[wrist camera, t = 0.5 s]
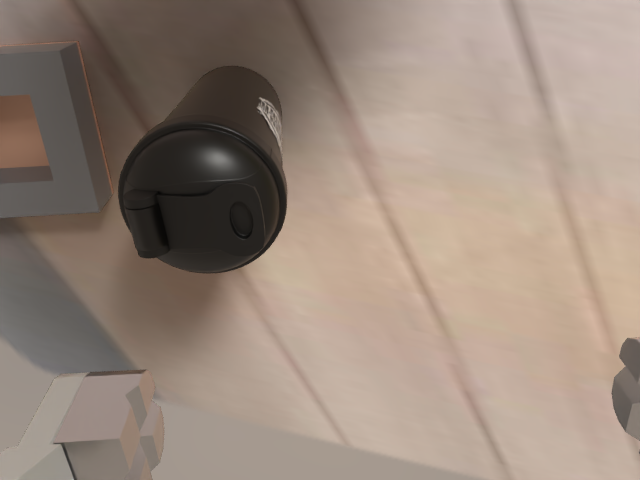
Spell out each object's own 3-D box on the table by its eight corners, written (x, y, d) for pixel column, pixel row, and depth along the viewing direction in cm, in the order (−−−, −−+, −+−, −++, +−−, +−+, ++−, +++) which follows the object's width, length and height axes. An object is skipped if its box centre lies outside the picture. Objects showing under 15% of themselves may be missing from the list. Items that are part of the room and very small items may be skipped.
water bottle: (297, 160, 56) (295, 293, 35) (190, 171, 56) (127, 309, 36) (283, 50, 51) (272, 130, 31) (167, 62, 51) (78, 149, 31)
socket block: (-75, 49, 50) (-107, 60, 46) (78, 41, 50) (59, 50, 46) (-22, 200, 57) (-46, 220, 53) (113, 192, 57) (99, 212, 53)
